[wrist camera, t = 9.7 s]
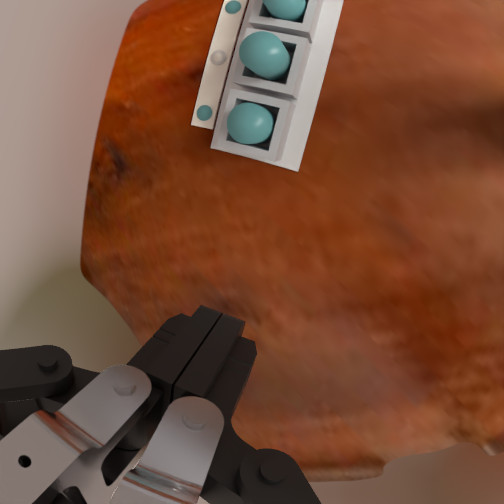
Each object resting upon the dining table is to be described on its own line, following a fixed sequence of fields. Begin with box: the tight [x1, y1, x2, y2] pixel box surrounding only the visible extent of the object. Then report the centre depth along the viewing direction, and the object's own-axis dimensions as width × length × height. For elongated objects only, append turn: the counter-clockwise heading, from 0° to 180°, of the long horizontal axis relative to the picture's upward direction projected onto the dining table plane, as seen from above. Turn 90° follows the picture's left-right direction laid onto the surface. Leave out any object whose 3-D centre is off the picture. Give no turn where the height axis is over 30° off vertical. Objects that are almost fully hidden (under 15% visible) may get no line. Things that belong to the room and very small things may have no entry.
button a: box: [262, 0, 307, 23], centre depth 29 cm, size 5×5×6 cm
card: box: [191, 0, 248, 129], centre depth 37 cm, size 3×20×1 cm, turn 166°
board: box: [211, 0, 344, 172], centre depth 34 cm, size 12×25×5 cm, turn 166°
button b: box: [239, 31, 292, 81], centre depth 31 cm, size 5×5×6 cm
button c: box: [227, 103, 277, 144], centre depth 35 cm, size 5×5×6 cm
